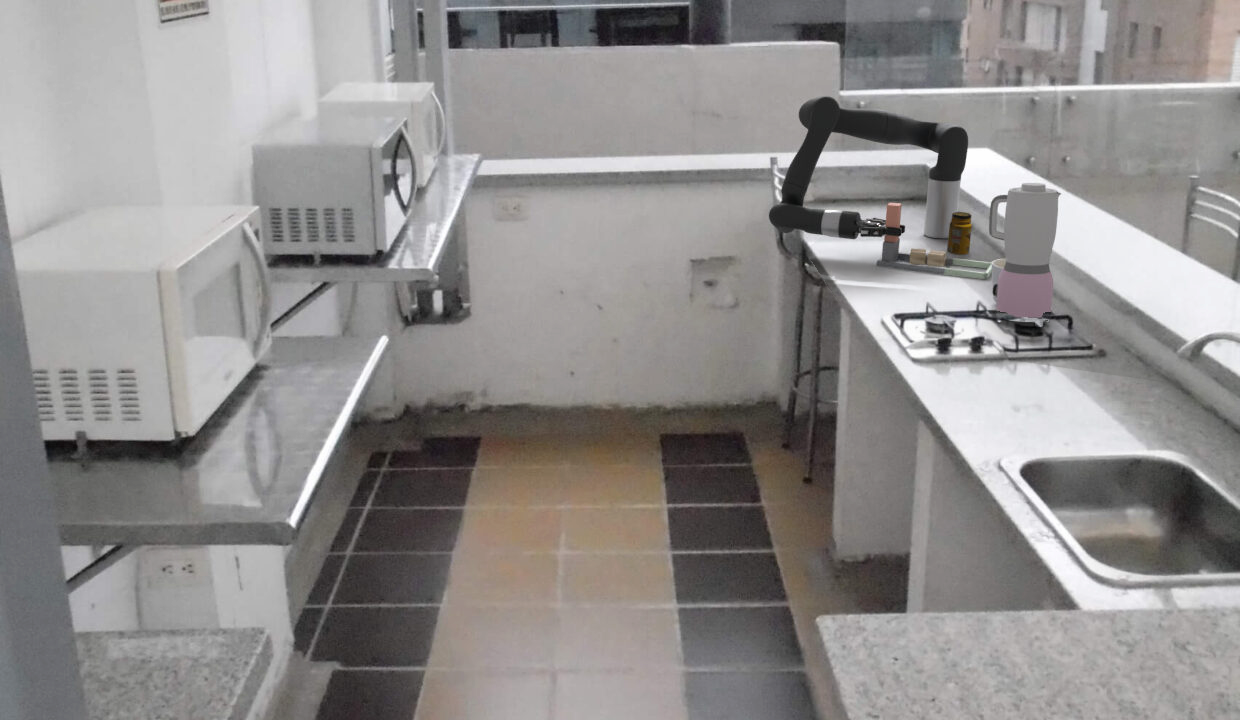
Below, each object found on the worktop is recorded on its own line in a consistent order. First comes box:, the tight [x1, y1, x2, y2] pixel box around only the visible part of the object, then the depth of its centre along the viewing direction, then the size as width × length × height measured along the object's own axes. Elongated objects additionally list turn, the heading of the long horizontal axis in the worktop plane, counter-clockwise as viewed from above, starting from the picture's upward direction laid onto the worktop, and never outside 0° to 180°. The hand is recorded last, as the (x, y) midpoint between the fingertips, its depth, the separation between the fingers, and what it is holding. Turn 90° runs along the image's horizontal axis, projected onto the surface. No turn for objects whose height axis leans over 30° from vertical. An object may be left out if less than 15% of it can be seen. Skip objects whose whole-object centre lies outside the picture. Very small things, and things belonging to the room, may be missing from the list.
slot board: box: [876, 251, 955, 275], centre depth 321 cm, size 12×18×2 cm, turn 64°
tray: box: [943, 257, 993, 280], centre depth 315 cm, size 12×11×2 cm
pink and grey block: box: [881, 202, 903, 261], centre depth 322 cm, size 6×3×16 cm, turn 154°
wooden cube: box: [909, 248, 927, 265], centre depth 321 cm, size 4×4×4 cm
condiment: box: [946, 211, 973, 255], centre depth 333 cm, size 7×8×12 cm
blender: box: [988, 182, 1062, 321], centre depth 273 cm, size 16×12×32 cm
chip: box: [927, 250, 947, 267], centre depth 318 cm, size 4×4×4 cm
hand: (902, 230), depth 320 cm, fingers closed on pink and grey block, 3 cm apart
